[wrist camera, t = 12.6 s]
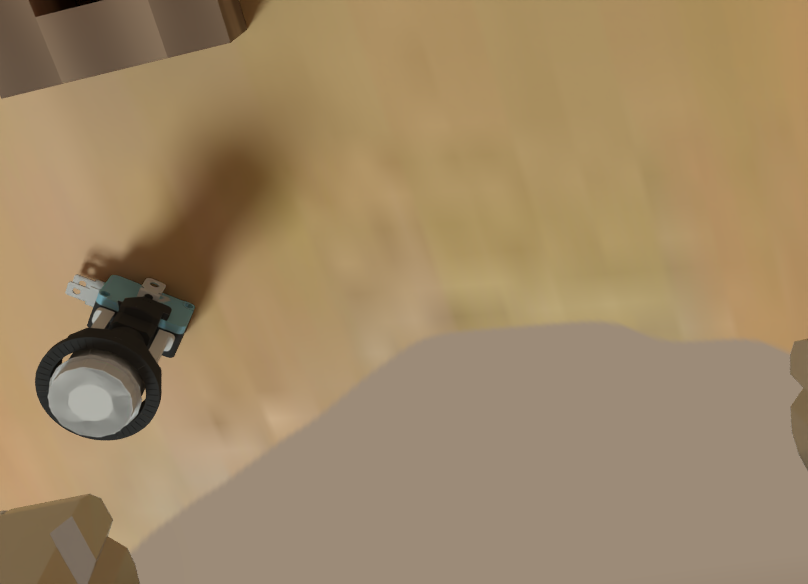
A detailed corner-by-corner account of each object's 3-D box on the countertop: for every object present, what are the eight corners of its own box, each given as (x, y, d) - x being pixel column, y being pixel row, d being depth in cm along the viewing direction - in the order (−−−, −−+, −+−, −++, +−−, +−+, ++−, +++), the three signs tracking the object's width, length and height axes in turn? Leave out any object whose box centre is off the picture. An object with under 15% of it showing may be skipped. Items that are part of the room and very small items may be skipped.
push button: (63, 314, 42) (-19, 418, 33) (91, 232, 40) (11, 318, 31) (180, 358, 43) (132, 469, 34) (213, 280, 42) (170, 376, 32)
